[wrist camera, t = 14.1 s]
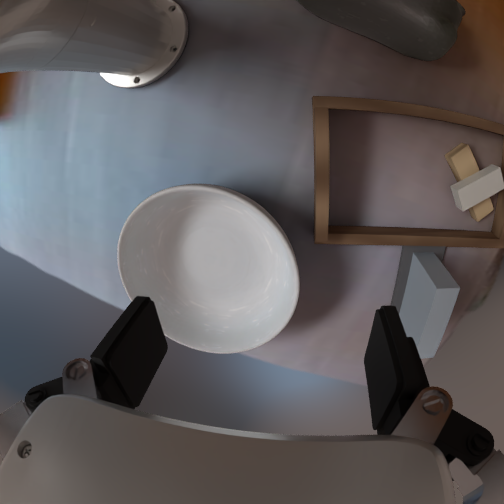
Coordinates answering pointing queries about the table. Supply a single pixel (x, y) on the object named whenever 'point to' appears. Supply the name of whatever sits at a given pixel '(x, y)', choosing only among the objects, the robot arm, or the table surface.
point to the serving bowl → (210, 267)
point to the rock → (397, 22)
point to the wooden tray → (366, 235)
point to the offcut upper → (477, 187)
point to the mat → (405, 268)
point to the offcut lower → (463, 168)
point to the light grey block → (427, 302)
